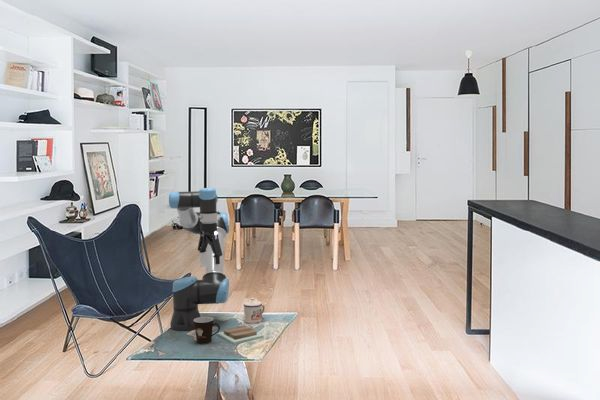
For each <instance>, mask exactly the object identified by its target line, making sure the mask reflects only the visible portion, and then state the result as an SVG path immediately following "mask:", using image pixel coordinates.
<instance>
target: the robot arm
mask: <svg viewBox="0 0 600 400" xmlns="http://www.w3.org/2000/svg"><path fill="white" fill-rule="evenodd" d="M218 201H219V200H218V195H217V190H216V188H214V187H203V188H200V189H199V190H196V191H172V192H170V193H169V195H168V205H169V208H170V209H176V210H177V214H178V215H179V224H180V226H181V227H182V228H183V229H184V230H186V231H188V233H192V234H195V235H199V240H198V246H197V251H198V252H199V255H200V267H201V268H203V267H205V273H204V274H203V275H202V279H198V277H197V276H185V277H182V278H178V279H176V280H174V281H173V283H172V291H171V292H172V301H173V303H172V304H173V306H172V307H173V311H172V315H171V318H170V323H169V324H170V329H171V330H175V331H191V330H195V326H194V319H196V318H199V317H202V315H201V313H200V311H199V305H215V304H216V305H219V304H225V303H226V302H227V301H228V297H229V293H230V292H229V291H230V279H229V278H227V276H226V274H224V239H225V238H226V236H227V234H229V233H230V226H229V220H228V219H229V218H228V215H227V212H225V211H219V210H217V203H218ZM194 208H199V211H194Z"/></svg>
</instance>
